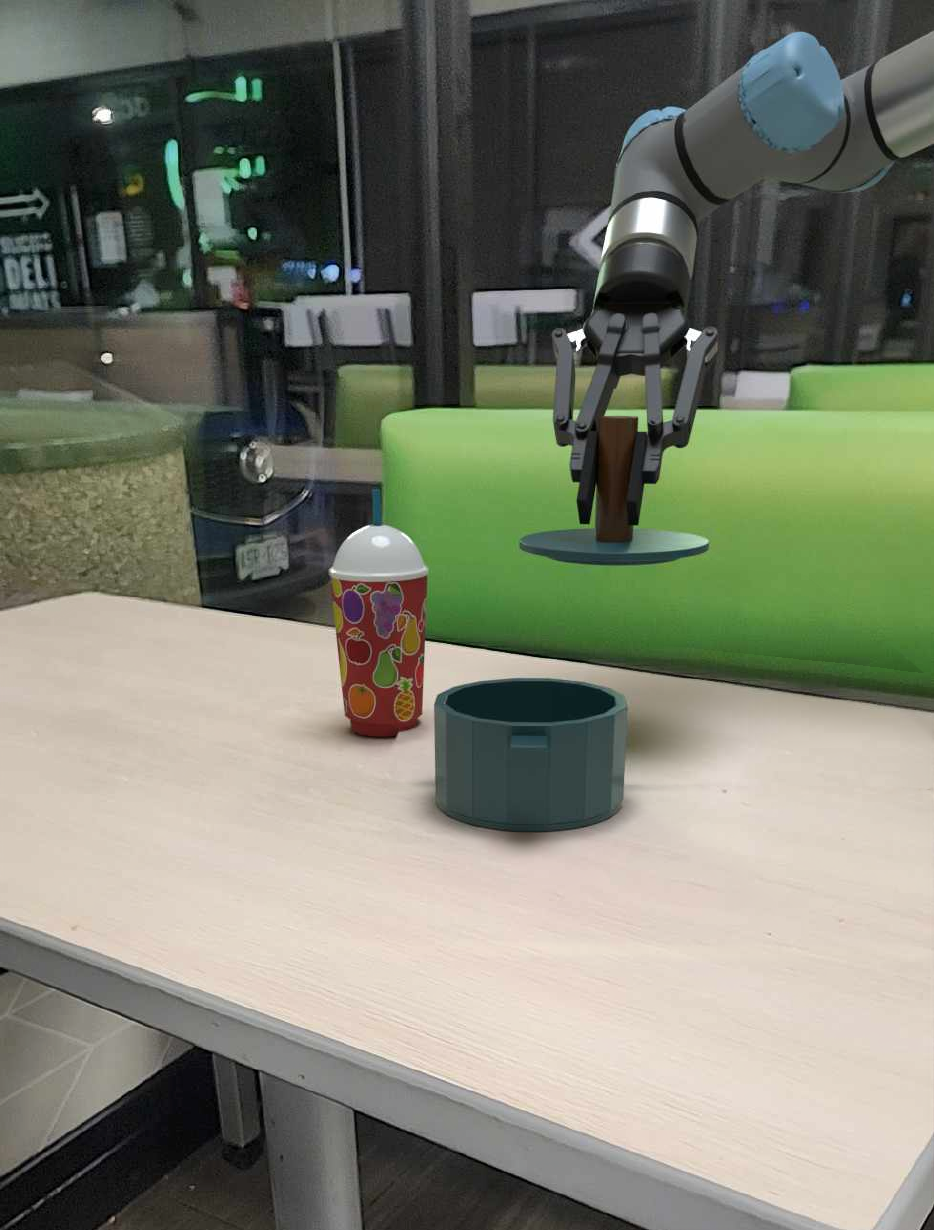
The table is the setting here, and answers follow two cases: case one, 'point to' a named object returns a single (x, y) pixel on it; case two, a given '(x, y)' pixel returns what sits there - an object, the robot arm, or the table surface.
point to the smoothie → (380, 627)
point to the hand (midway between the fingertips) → (607, 512)
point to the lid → (614, 515)
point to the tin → (530, 753)
